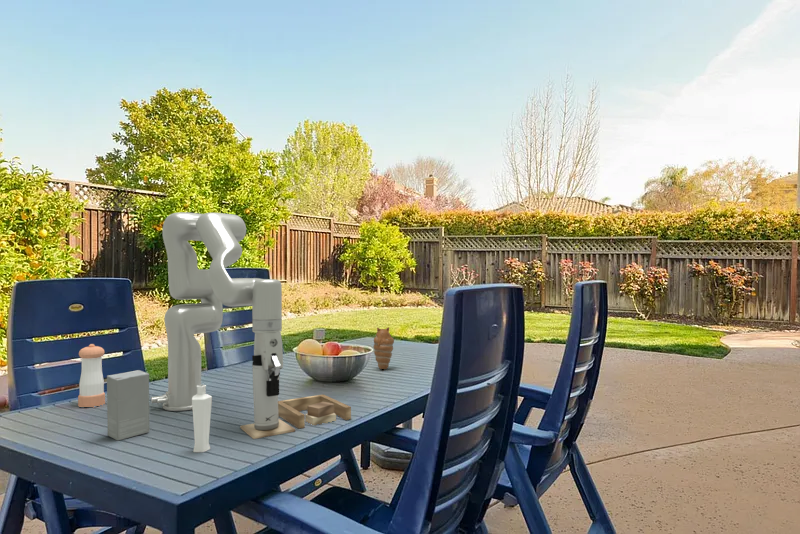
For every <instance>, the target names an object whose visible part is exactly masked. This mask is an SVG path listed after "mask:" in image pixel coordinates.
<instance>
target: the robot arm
mask: <svg viewBox="0 0 800 534" xmlns="http://www.w3.org/2000/svg"><path fill="white" fill-rule="evenodd" d="M246 234H247V227H246V223H245V221H244V220H243V218H241V217H240V216H239V215H237V214H232V213H222V212H207V213H206V212H205V213H197V212H187V211H185V212H183V211H180V212H174V213H171V214H169V215H168V216H166V218H165V219H164V221H163V224H162V239H163V243H164V247H165V250H166V255H167V256H166V257H167V273H168V275H167V276H168V277H167V278H168V290H169V295H170V297H172V299H175V300H182V301H188V300H200V302H201V303H200V302H199V303H184V304H183V303H181V304H176V305H172V306H171V307H169V308H168V309H167V310H166V312H165V315H164V326H165V331H166V337H167V338H166V339H167V373H168V374H167V378H168V379H167V383H168V384H167V388H168V390H167V391H165V394H162V395H159V396H158V395H157V396H151V398H150V404H157V405H158V404H162V409H163V410H165V411H169V412H171V411H172V412H173V411H174V412H181V411H182V412H183V411H191V410H192V411H193V408H192V397H193V396H195V395H196V394H197V385H202V348H201V344H200V343H199V341H198V340H197V338H196V337H195V335H197V334H206V333H207V334H209V333H213V332H216V331H218V330H219V329H220V328H221V327H222V324H223V320H224V319H223V315H224V314H223V312H224V311H223V308H224V307H223V306H225V307H233V308H234V307H245V306H246V307H252V312H251V313H252V316H251V317H252V319H251V320H252V321H251V322H252V327H251V329H252V330H251V331H252V332H253V333H254V341H253V342H254V343H253V355H254V356H256V355H261V361H262V362H261V363H262V368H263V370H265V371H266V372H267V378H268V381H266V395H267V396H268V397H270V396H277V395H278V396H279V395H280V380H281V379H280V375H281V370H283V368H284V353H283V351H284V349H283V341H282V338H283V337H282V333H281V332H282V331H283V329H282V327H283V325H282V323H283V322H282V317H283V316H282V315H283V313H282V312H283V310H282V309H283V307H282V306H283V305H282V304H283V301H282V299H283V298H282V296H283V295H282V292H283V291H282V288H283V287H282V282H281V281H280V280H279V279H274V278H273V279H271V278H269V279H268V278H259V277H253V278H252V277H251V278H250V277H244V278H243V277H239V278H238V277H236V278H235V277H233V278H231V276H230V275H229V273H228V272H227V270H226V268H227V267H229V266H231V265H233V264H234V263H236V262H237V261H238V260H239V259H240V258H241V257H242V254H243V248H242V246H241V244H240V242H241V241H243V240H244V238H245V236H246ZM189 241H196V242H197V241H199V242H203V245H204V246H205V248H206V250H207V252H208V253H209V255H210V257H211V258H212V261H211V263H210V266H209V269H204V268H203V269H200V268H199V267H198V257H197V256H198V255H197V252H196V250H195V249H194V247H193V246H192V245H191V243H190V242H189ZM269 367H274V368H269ZM270 372H272V373H271V374H270Z"/></svg>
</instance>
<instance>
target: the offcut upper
mask: <svg viewBox="0 0 800 534" xmlns="http://www.w3.org/2000/svg"><path fill="white" fill-rule="evenodd" d="M306 412H307V413H306V414H307V415H309V416H313V417H317V418H319V417H323V416H326V415H329V414H332V413H334V404H332V403H327V402H320V403H316V404H313V405H309V406H307V410H306Z"/></svg>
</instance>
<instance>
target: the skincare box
mask: <svg viewBox="0 0 800 534" xmlns="http://www.w3.org/2000/svg"><path fill="white" fill-rule="evenodd" d="M106 403H107V404H106V406H107V408H106V409H107V410H106V411H107V413H106V415H107V436H108V437H110V438H112V439H114V440H115V441H122V440H126V439H129V438H132V437H136V436H140V435H144V434H148V433H150V374H149V373H148V372H145V371H143V370H140V369H137V370H133V371H127V372H120V373H115V374H110V375H109V374H108V375H106Z"/></svg>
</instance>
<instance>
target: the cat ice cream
mask: <svg viewBox="0 0 800 534" xmlns="http://www.w3.org/2000/svg"><path fill="white" fill-rule="evenodd" d="M394 343H395V339H394V338H393V337H392V335H391V334H390V327H389V326H388V327H387V328H379V327H376V334H375V337H374V339H373V347H372V349H374V351H373V354H374V356H375V361H376V363H377V367H378V368H379V369H380V370H381V369H385V370H386V369H388V368H389V364H390V362H391V358H392V356H393V353H392V352H393V350H394V347H393V344H394Z"/></svg>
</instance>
